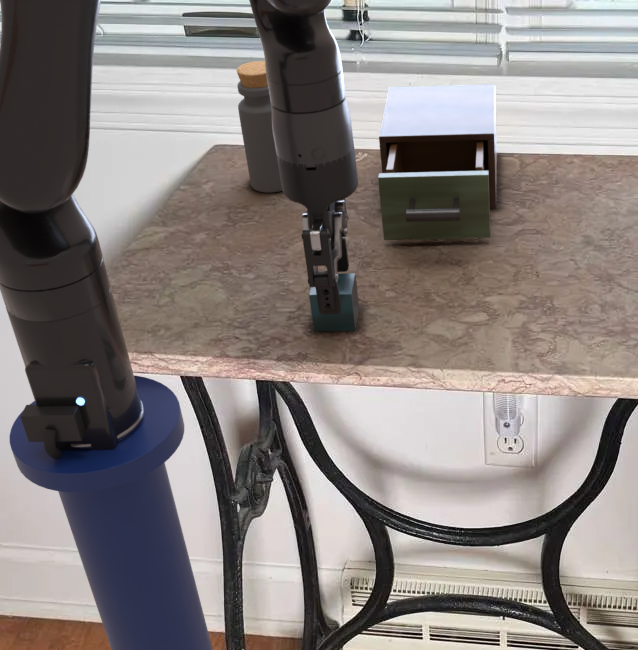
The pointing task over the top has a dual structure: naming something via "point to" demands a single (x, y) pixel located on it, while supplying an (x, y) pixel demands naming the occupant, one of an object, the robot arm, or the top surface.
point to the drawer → (435, 191)
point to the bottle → (258, 127)
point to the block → (348, 307)
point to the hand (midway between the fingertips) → (334, 291)
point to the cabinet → (442, 120)
